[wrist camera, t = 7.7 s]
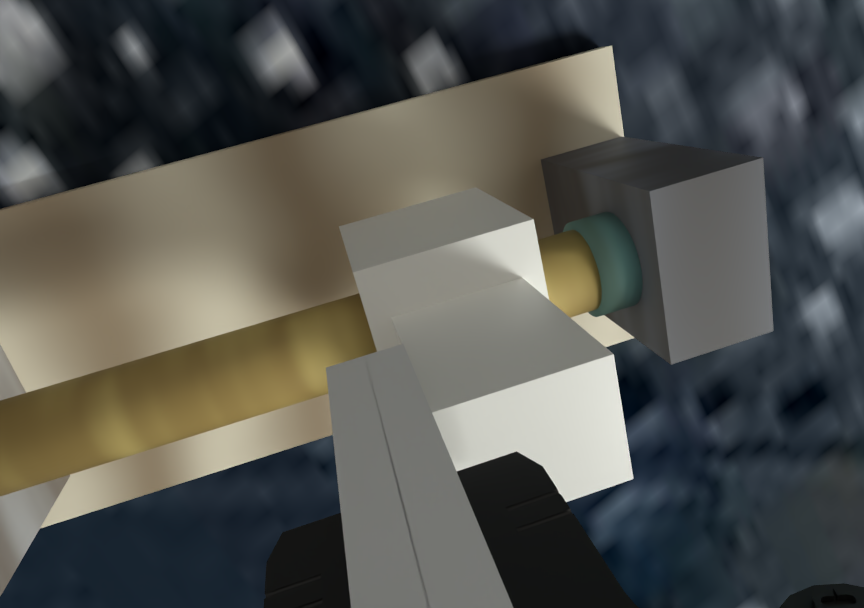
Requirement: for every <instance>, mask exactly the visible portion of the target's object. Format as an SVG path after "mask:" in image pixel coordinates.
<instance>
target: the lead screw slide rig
mask: <svg viewBox="0 0 864 608" xmlns="http://www.w3.org/2000/svg"><path fill="white" fill-rule="evenodd" d="M475 187H476V188H478V189H480V190H482V191H484V192H485V193H487V194H489V195H491V196H493V197H494V198H496V199H498V200H500V201H502V202H503V203H505V204H507V205H509V206H511V207H513V208H514V209H516V210H518V211H520V212H522V213H523V214H525V215H527V216H529V217H531V218H532V219H534V224H535V229H536V234H537V239H538V245H539V250H540V255H541V260H542V265H543V271H544V276H545V281H546V286H547V291H548V297H549V300H550V301H551V302H552V303H553V304H554V305H556V306H557V307H558V308H559V309H560V310H562V311H563V312H564V313H565V314H566V315H568V316H569V317H570V318H571V319H572V320H573V321H575V322H576V323H577V324H578V325H579V326H581V327H582V328H583V329H584V330H585V331H587V332H588V333H589V334H590V335H591V336H593V337H594V338H595V339H596V340H597V341H598V342H600V343H601V344H602V345H603V346H604V347H607V346H610V345H614V344H617V343H620V342H623V341H626V340H629V339H632V338H636V339H637V340H639V341H640V342H641V343H643V344H644V345H645V346H647V347H648V348H649V349H651V350H652V351H653V352H655V353H656V354H657V355H659V356H660V357H662V358H663V359H664V360H666V361H667V362H668V363H670V364H674V363H677V362H680V361H683V360H686V359H689V358H692V357H696V356H699V355H702V354H705V353H708V352H711V351H714V350H717V349H720V348H723V347H726V346H729V345H732V344H735V343H738V342H741V341H744V340H747V339H751V338H754V337H757V336H760V335H763V334H766V333H769V332H772V331H773V316H772V299H771V283H770V266H769V249H768V232H767V216H766V199H765V182H764V165H763V158H761V157H755V156H748V155H741V154H735V153H728V152H721V151H715V150H708V149H701V148H695V147H688V146H681V145H675V144H668V143H661V142H654V141H648V140H641V139H634V138H628V137H624V133H623V125H622V118H621V110H620V103H619V96H618V88H617V81H616V73H615V66H614V58H613V51H612V46H606V47H600V48H596V49H592V50H588V51H585V52H581V53H577V54H574V55H570V56H566V57H562V58H559V59H555V60H551V61H548V62H544V63H540V64H536V65H533V66H529V67H525V68H522V69H518V70H514V71H510V72H507V73H503V74H499V75H496V76H492V77H488V78H484V79H481V80H477V81H473V82H470V83H466V84H462V85H458V86H455V87H451V88H447V89H444V90H440V91H436V92H432V93H429V94H425V95H421V96H418V97H414V98H410V99H407V100H403V101H399V102H395V103H392V104H388V105H384V106H381V107H377V108H373V109H369V110H366V111H362V112H358V113H355V114H351V115H347V116H343V117H340V118H336V119H332V120H329V121H325V122H321V123H317V124H314V125H310V126H306V127H303V128H299V129H295V130H291V131H288V132H284V133H280V134H277V135H273V136H269V137H265V138H262V139H258V140H254V141H251V142H247V143H243V144H239V145H236V146H232V147H228V148H225V149H221V150H217V151H213V152H210V153H206V154H202V155H199V156H195V157H191V158H187V159H184V160H180V161H176V162H173V163H169V164H165V165H161V166H158V167H154V168H150V169H147V170H143V171H139V172H135V173H132V174H128V175H124V176H121V177H117V178H113V179H110V180H106V181H102V182H98V183H95V184H91V185H87V186H84V187H80V188H76V189H72V190H69V191H65V192H61V193H58V194H54V195H50V196H46V197H43V198H39V199H35V200H32V201H28V202H24V203H20V204H17V205H13V206H9V207H6V208H2V209H0V596H1V594H2V592H3V591H4V589H5V587H6V586H7V584H8V582H9V580H10V579H11V577H12V575H13V574H14V572H15V570H16V568H17V567H18V565H19V563H20V562H21V560H22V558H23V556H24V555H25V553H26V551H27V550H28V548H29V546H30V544H31V543H32V541H33V539H34V537H35V536H36V534H37V532H38V531H39V529H40V528H43V527H46V526H49V525H52V524H56V523H59V522H62V521H65V520H68V519H71V518H74V517H77V516H80V515H84V514H87V513H90V512H93V511H96V510H99V509H102V508H105V507H109V506H112V505H115V504H118V503H121V502H124V501H127V500H130V499H133V498H137V497H140V496H143V495H146V494H149V493H152V492H155V491H158V490H162V489H165V488H168V487H171V486H174V485H177V484H180V483H183V482H186V481H190V480H193V479H196V478H199V477H202V476H205V475H208V474H211V473H215V472H218V471H221V470H224V469H227V468H230V467H233V466H236V465H239V464H243V463H246V462H249V461H252V460H255V459H258V458H261V457H264V456H268V455H271V454H274V453H277V452H280V451H283V450H286V449H289V448H292V447H296V446H299V445H302V444H305V443H308V442H311V441H314V440H317V439H321V438H324V437H327V436H330V435H333V431H332V422H331V412H330V403H329V393H328V384H327V374H326V367H330V366H333V365H336V364H339V363H343V362H346V361H349V360H352V359H355V358H359V357H362V356H365V355H368V354H371V353H375V352H377V350H376V347H375V343H374V340H373V337H372V333H371V330H370V327H369V324H368V320H367V317H366V314H365V310H364V307H363V304H362V301H361V297H360V294H359V291H358V288H357V284H356V281H355V278H354V275H353V271H352V268H351V265H350V261H349V258H348V255H347V252H346V248H345V245H344V242H343V238H342V235H341V232H340V229H339V226H342V225H346V224H349V223H353V222H356V221H360V220H363V219H367V218H370V217H374V216H377V215H381V214H384V213H388V212H391V211H395V210H398V209H401V208H405V207H408V206H412V205H415V204H419V203H422V202H426V201H429V200H433V199H436V198H440V197H443V196H447V195H450V194H454V193H457V192H461V191H464V190H468V189H471V188H475Z"/></svg>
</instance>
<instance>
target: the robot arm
mask: <svg viewBox="0 0 864 608" xmlns="http://www.w3.org/2000/svg"><path fill="white" fill-rule="evenodd" d="M326 374H327V384H328V393H329V403H330V412H331V422H332V431H333V441H334V450H335V460H336V469H337V479H338V488H339V498H340V507H341V513H339V514H336V515H333V516H330V517H327V518H324V519H321V520H318V521H315V522H312V523H309V524H306V525H303V526H301V527H298V528H295V529H292V530H289V531H286V532H283V533H282V535H281V537H280V538H279V540H278V542H277V544H276V546H275V548H274V550H273V552H272V553H271V555H270V557H269V559H268V561H267V565H266V581H265V595H266V599H264V608H639V607H637V606H636V605H635V604H634V603H633V602H632V600H631V599H630V598H629V597H628V596H627V595H626V593H625V592H624V591H623V589H622V588H621V586H620V585H619V583H618V581H617V580H616V578H615V577H614V575H613V574H612V572H611V571H610V569H609V568H608V566H607V565H606V563H605V561H604V560H603V558H602V557H601V555H600V554H599V552H598V551H597V549H596V548H595V546H594V545H593V543H592V541H591V540H590V538H589V537H588V535H587V534H586V532H585V531H584V529H583V528H582V526H581V525H580V523H579V521H578V520H577V518H576V517H575V515H574V514H572V513H571V510H570V508H569V506H568V505H567V503H566V501H565V500H564V498H563V497H562V495H561V494H559V492H558V489H557V488H556V486H555V485H554V483H553V481H552V480H551V478H550V477H549V475H548V474H547V472H546V471H545V469H544V468H543V466H541V465H540V464H538V463H536V462H534V461H533V460H531V459H529V458H527V457H526V456H524V455H522V454H520V453H519V452H517V451H516V452H513V453H510V454H507V455H504V456H501V457H498V458H495V459H492V460H489V461H486V462H483V463H480V464H478V465H475V466H472V467H469V468H466V469H463V470H460V471H456V469H455V467H454V464H453V462H452V459H451V457H450V455H449V452H448V450H447V447H446V445H445V443H444V440H443V438H442V435H441V433H440V431H439V428H438V426H437V423H436V421H435V419H434V416H433V414H432V411H431V409H430V407H429V404H428V402H427V399H426V397H425V395H424V392H423V390H422V387H421V385H420V383H419V380H418V378H417V376H416V373H415V371H414V368H413V366H412V364H411V361H410V359H409V356H408V354H407V352H406V349H405V347H404V344H400V345H397V346H394V347H391V348H387V349H384V350H381V351H378V352H375V353H371V354H368V355H365V356H362V357H359V358H355V359H352V360H349V361H346V362H343V363H339V364H336V365H333V366H330V367H326ZM780 608H864V587H859V586H854V585H849V584H830V585H814V586H811V587H809V588H807V589H804V590H802V591H799V592H797V593H795V594H792V595H790V596H789V597H788V598H787V599H786V601H785V602H784V603H783V604H782V605H781V607H780Z"/></svg>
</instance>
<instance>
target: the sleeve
mask: <svg viewBox="0 0 864 608" xmlns="http://www.w3.org/2000/svg"><path fill="white" fill-rule="evenodd" d="M339 229H340V232H341V235H342V238H343V242H344V245H345V248H346V252H347V255H348V258H349V261H350V265H351V268H352V271H353V275H354V278H355V281H356V284H357V288H358V291H359V294H360V297H361V301H362V304H363V307H364V310H365V314H366V317H367V320H368V324H369V327H370V330H371V333H372V337H373V340H374V343H375V347H376V350H377V352H378V351H381V350H384V349H387V348H391V347H394V346H397V345H400V344H404V347H405V349H406V352H407V354H408V356H409V359H410V361H411V364H412V366H413V368H414V371H415V373H416V376H417V378H418V380H419V383H420V385H421V387H422V390H423V392H424V395H425V397H426V399H427V402H428V404H429V407H430V409H431V411H432V414H433V416H434V419H435V421H436V423H437V426H438V428H439V431H440V433H441V435H442V438H443V440H444V443H445V445H446V447H447V450H448V452H449V455H450V457H451V459H452V462H453V464H454V467H455V469H456V471H460V470H463V469H466V468H469V467H472V466H475V465H478V464H480V463H483V462H486V461H489V460H492V459H495V458H498V457H501V456H504V455H507V454H510V453H513V452H516V451H517V452H519V453H520V454H522V455H524V456H526V457H527V458H529V459H531V460H533V461H534V462H536V463H538V464H540V465H541V466H543V468H544V469H545V471H546V472H547V474H548V475H549V477H550V478H551V480H552V481H553V483H554V485H555V486H556V488H557V489H558V492H559V494H561V495H562V497H563V498H564V500H565V501H566V502H568V501H571V500H574V499H576V498H579V497H582V496H585V495H588V494H591V493H594V492H597V491H600V490H603V489H605V488H608V487H611V486H614V485H617V484H620V483H623V482H626V481H629V480H632V479H633V473H632V467H631V461H630V454H629V448H628V442H627V435H626V429H625V423H624V417H623V410H622V404H621V398H620V391H619V385H618V379H617V373H616V366H615V360H614V354H613V353H612V352H610V351H609V350H608V349H607V348H606V347H604V346H603V345H602V344H601V343H600V342H598V341H597V340H596V339H595V338H594V337H593V336H591V335H590V334H589V333H588V332H587V331H585V330H584V329H583V328H582V327H581V326H579V325H578V324H577V323H576V322H575V321H573V320H572V319H571V318H570V317H569V316H568V315H566V314H565V313H564V312H563V311H562V310H560V309H559V308H558V307H557V306H556V305H554V304H553V303H552V302H551V301H550V300H549V297H548V291H547V286H546V281H545V276H544V271H543V265H542V260H541V255H540V250H539V245H538V239H537V234H536V229H535V224H534V219H532V218H531V217H529V216H527V215H525V214H523V213H522V212H520V211H518V210H516V209H514V208H513V207H511V206H509V205H507V204H505V203H503V202H502V201H500V200H498V199H496V198H494V197H493V196H491V195H489V194H487V193H485V192H484V191H482V190H480V189H478V188H476V187H475V188H471V189H468V190H464V191H461V192H457V193H454V194H450V195H447V196H443V197H440V198H436V199H433V200H429V201H426V202H422V203H419V204H415V205H412V206H408V207H405V208H401V209H398V210H395V211H391V212H388V213H384V214H381V215H377V216H374V217H370V218H367V219H363V220H360V221H356V222H353V223H349V224H346V225H342V226H339Z"/></svg>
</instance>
